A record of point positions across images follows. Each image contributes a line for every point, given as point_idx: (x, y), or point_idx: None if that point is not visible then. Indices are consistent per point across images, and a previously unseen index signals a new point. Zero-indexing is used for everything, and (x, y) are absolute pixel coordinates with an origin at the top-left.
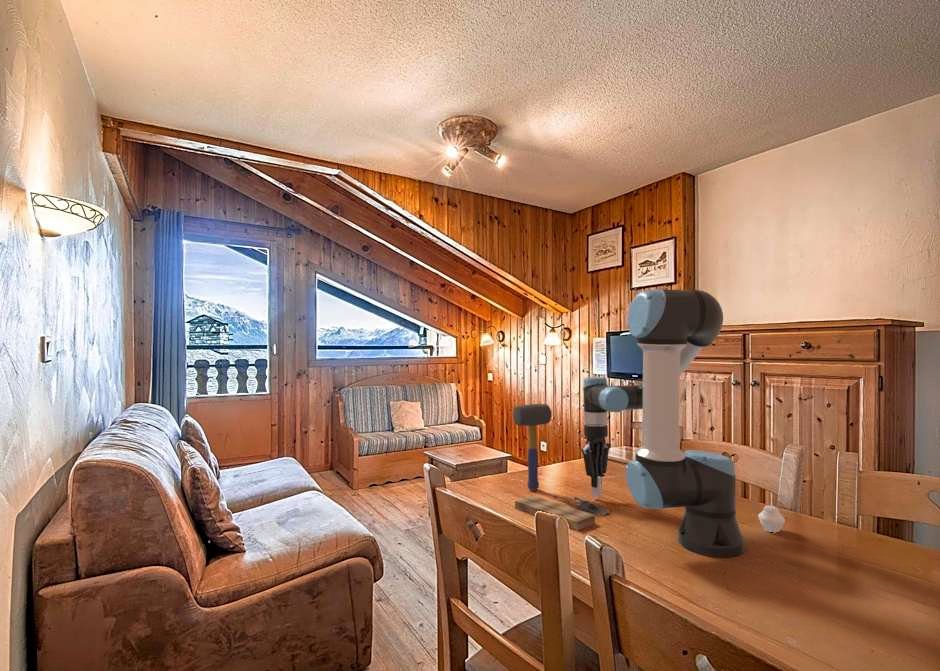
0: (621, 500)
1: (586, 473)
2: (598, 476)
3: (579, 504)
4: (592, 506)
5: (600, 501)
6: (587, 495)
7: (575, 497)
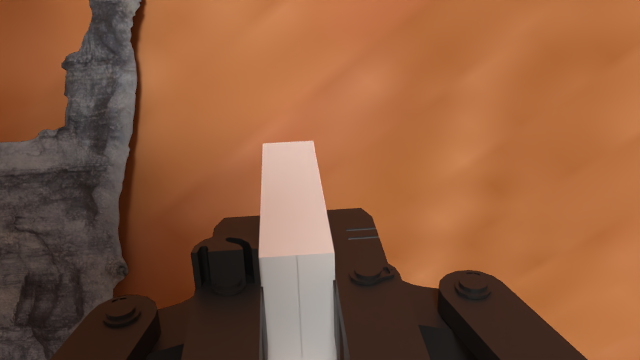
0: None
1: (81, 326)
2: (332, 321)
3: (26, 164)
4: (42, 322)
5: None
6: (331, 14)
7: (112, 19)
